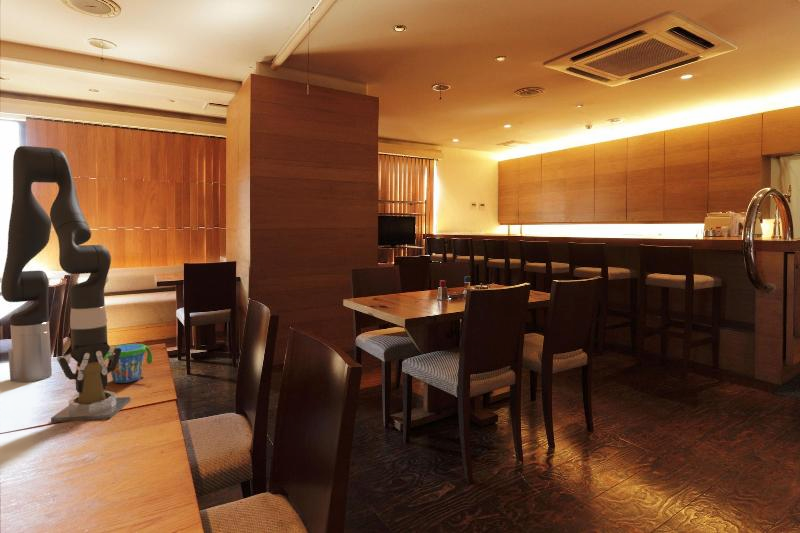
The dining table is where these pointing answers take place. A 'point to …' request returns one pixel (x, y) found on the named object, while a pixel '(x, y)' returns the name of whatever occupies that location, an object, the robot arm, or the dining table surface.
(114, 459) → the dining table surface
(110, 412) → the hub
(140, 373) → the snack cup
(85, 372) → the cork
